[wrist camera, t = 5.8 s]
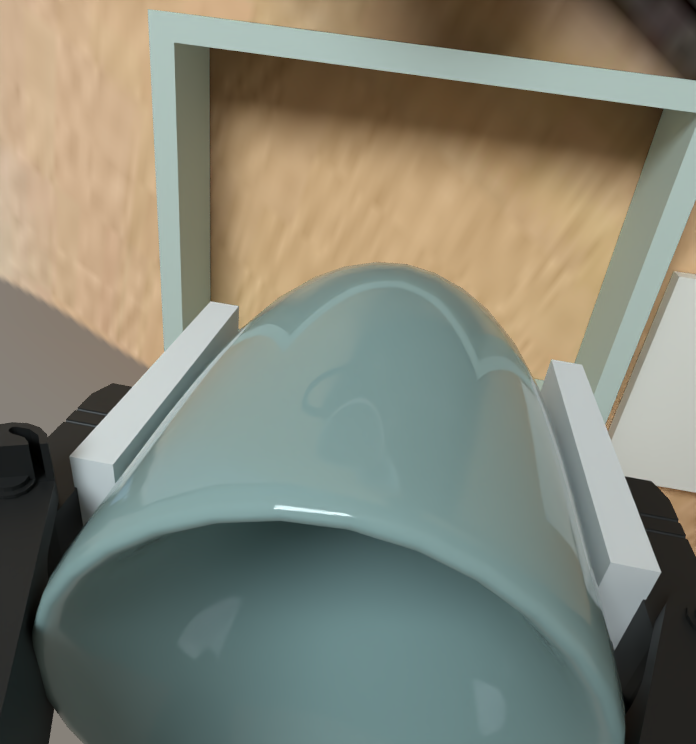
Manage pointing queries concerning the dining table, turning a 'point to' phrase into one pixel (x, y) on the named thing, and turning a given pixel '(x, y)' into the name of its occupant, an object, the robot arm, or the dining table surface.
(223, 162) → the dining table surface
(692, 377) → the plate
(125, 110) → the dining table surface
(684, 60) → the dining table surface
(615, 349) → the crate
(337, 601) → the cup
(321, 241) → the dining table surface
